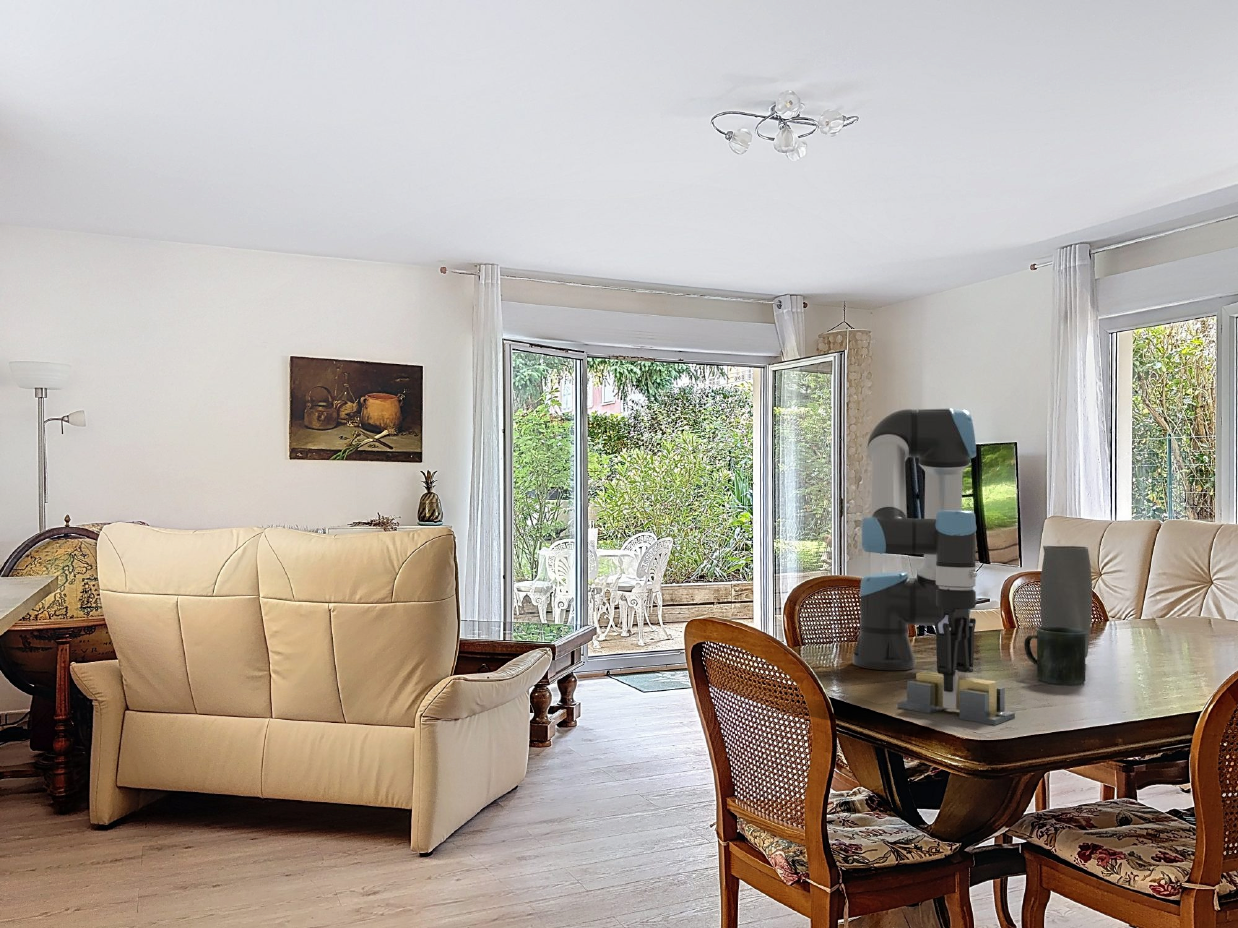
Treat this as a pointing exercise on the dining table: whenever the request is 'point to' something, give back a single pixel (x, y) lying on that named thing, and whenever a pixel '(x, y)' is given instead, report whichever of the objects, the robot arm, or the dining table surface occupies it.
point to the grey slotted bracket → (920, 697)
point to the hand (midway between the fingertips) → (955, 705)
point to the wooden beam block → (960, 688)
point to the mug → (1059, 655)
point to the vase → (1066, 589)
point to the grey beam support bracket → (983, 707)
